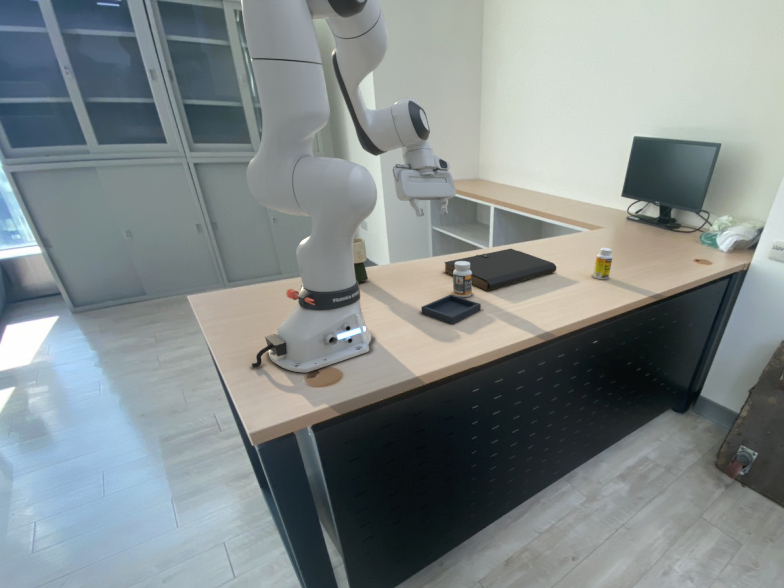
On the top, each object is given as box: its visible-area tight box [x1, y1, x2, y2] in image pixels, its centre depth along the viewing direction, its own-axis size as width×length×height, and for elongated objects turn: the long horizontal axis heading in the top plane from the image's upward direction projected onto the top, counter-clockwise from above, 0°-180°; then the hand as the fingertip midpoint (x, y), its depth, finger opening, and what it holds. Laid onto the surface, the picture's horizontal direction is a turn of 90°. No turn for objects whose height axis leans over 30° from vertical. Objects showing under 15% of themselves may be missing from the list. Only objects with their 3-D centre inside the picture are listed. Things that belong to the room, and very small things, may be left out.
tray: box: [420, 294, 482, 325], centre depth 114 cm, size 13×11×2 cm
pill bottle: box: [452, 261, 473, 298], centre depth 123 cm, size 6×6×10 cm
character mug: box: [353, 237, 369, 283], centre depth 128 cm, size 11×7×13 cm, turn 46°
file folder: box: [443, 248, 557, 292], centre depth 145 cm, size 33×4×24 cm
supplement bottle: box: [592, 247, 613, 280], centre depth 145 cm, size 6×6×10 cm
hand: (432, 215), depth 120 cm, fingers open, 8 cm apart
